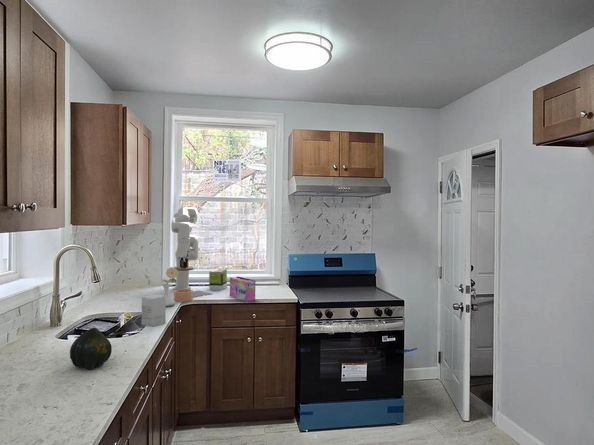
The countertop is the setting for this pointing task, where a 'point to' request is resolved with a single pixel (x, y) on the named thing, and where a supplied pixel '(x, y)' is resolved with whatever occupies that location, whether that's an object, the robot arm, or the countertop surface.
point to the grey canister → (153, 310)
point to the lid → (183, 267)
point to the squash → (90, 349)
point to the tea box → (217, 279)
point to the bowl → (183, 295)
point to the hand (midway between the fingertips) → (183, 266)
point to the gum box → (242, 288)
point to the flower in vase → (171, 274)
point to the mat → (200, 293)
